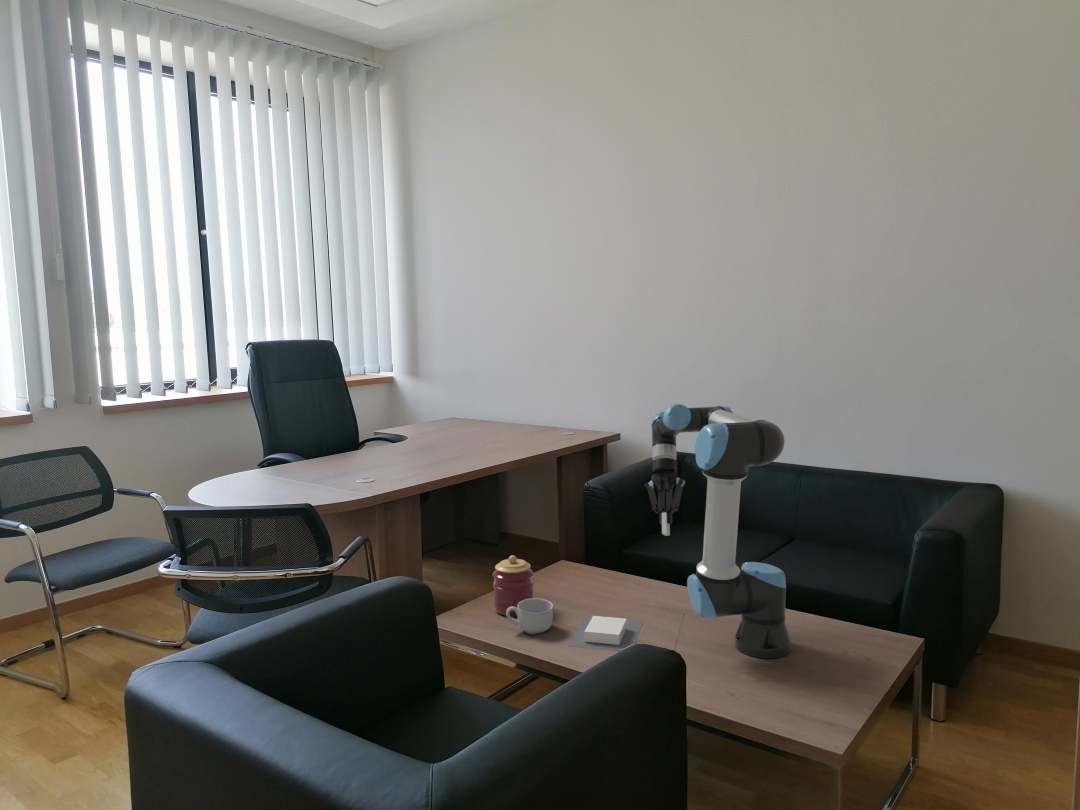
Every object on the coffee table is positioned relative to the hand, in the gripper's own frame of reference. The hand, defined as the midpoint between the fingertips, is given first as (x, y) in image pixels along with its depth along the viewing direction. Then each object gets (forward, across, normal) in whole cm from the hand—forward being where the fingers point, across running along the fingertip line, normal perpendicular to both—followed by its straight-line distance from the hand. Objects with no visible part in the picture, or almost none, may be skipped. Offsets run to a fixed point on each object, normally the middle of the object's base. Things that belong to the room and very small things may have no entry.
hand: (665, 534), depth 239 cm
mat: (+30, +16, +7) cm, 35 cm away
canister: (+21, +50, +4) cm, 55 cm away
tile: (+26, +17, +4) cm, 31 cm away
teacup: (+29, +38, +14) cm, 50 cm away
